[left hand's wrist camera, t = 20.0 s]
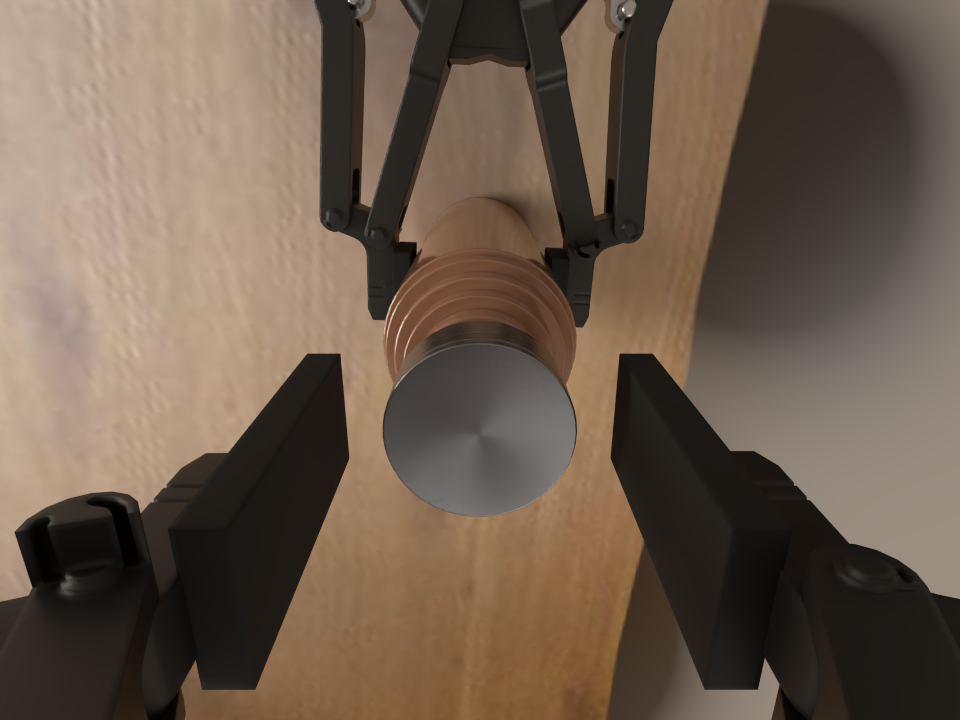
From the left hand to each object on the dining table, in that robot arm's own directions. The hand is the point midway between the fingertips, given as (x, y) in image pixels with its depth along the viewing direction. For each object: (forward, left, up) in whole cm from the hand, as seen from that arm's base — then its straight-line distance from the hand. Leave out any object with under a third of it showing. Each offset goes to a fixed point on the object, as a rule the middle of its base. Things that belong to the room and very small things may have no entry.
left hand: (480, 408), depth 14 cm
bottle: (0, 0, -20) cm, 20 cm away
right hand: (-5, -1, -13) cm, 14 cm away
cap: (0, 0, +1) cm, 1 cm away
